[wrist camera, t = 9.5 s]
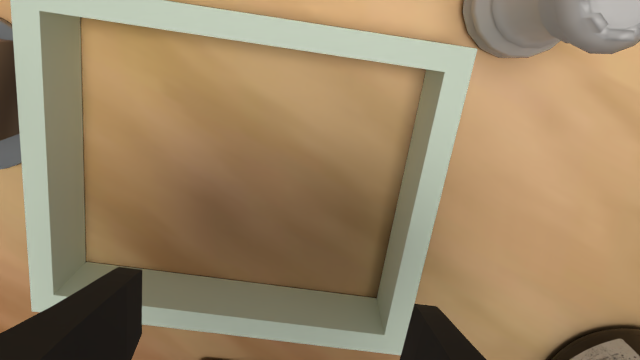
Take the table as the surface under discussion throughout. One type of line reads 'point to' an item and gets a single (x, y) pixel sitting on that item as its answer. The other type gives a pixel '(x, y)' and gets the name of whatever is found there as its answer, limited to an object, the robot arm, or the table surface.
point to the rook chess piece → (552, 25)
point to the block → (8, 91)
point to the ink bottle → (604, 346)
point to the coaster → (9, 149)
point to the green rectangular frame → (206, 292)
